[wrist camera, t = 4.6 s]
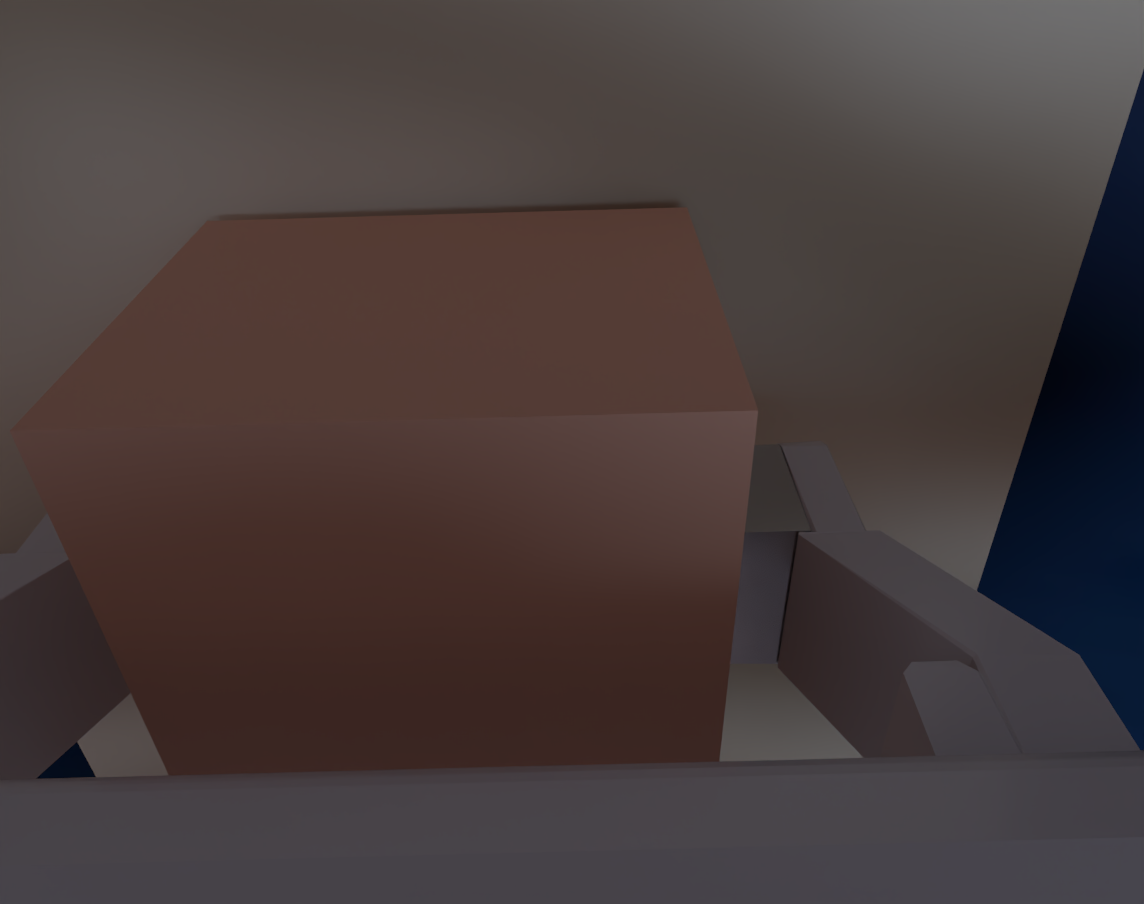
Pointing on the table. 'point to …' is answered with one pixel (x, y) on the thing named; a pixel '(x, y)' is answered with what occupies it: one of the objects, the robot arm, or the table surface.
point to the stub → (412, 492)
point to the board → (610, 205)
